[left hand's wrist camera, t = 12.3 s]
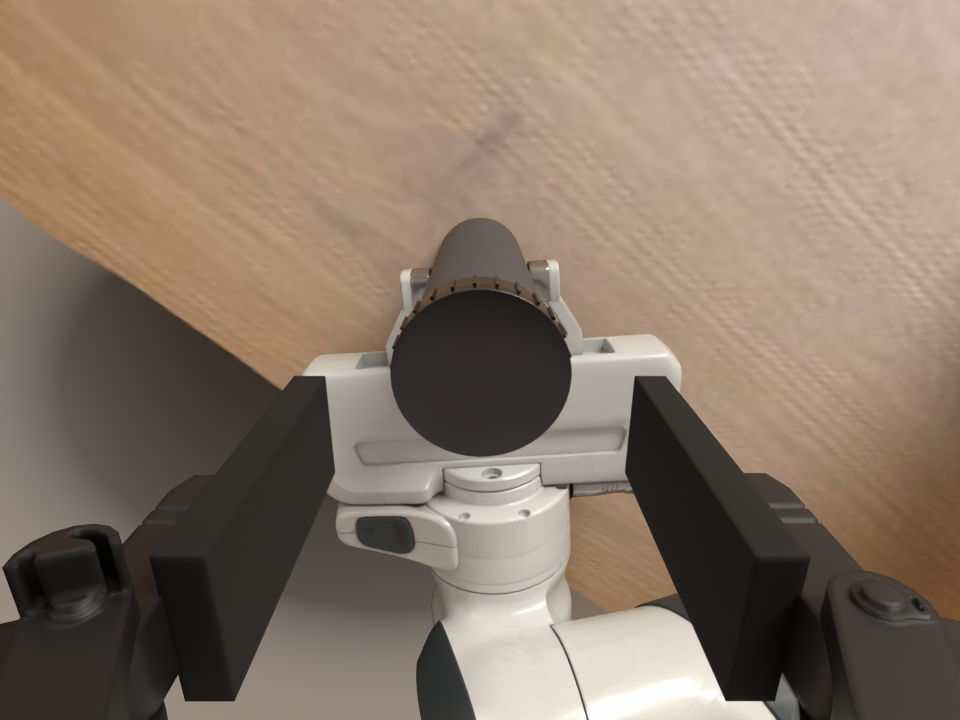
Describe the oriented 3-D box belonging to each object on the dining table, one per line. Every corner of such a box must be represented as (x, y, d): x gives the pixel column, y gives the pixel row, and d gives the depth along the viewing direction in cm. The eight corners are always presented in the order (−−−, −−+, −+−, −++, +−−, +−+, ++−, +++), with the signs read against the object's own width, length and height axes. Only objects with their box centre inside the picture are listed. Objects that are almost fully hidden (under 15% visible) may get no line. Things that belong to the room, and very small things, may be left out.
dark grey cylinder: (451, 207, 34) (423, 272, 17) (531, 232, 34) (585, 320, 17) (429, 286, 36) (383, 421, 18) (506, 308, 36) (531, 460, 19)
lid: (419, 251, 18) (413, 262, 16) (591, 303, 18) (602, 318, 17) (377, 409, 20) (368, 433, 18) (534, 451, 20) (539, 478, 18)
